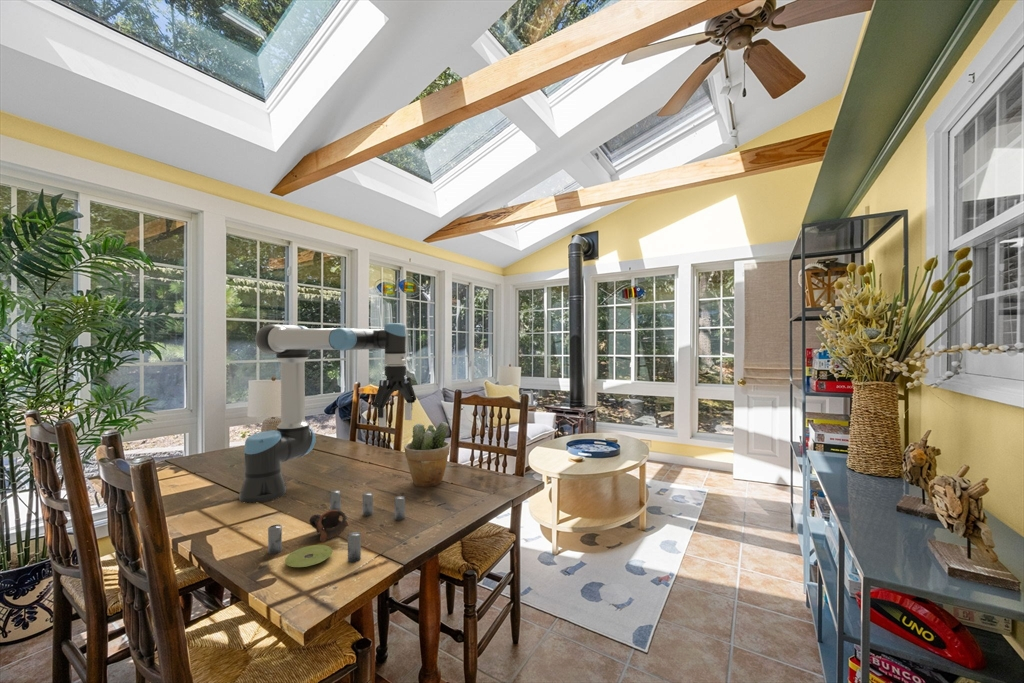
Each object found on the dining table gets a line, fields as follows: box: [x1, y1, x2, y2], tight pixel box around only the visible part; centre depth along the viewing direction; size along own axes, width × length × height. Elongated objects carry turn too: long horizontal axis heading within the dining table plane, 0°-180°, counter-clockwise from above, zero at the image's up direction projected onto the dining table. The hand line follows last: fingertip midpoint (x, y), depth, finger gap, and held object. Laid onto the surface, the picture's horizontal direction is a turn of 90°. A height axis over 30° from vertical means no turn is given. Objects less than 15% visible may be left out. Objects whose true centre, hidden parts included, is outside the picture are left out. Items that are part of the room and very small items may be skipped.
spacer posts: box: [267, 489, 406, 564], centre depth 125 cm, size 27×30×7 cm
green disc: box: [284, 544, 334, 568], centre depth 109 cm, size 11×11×2 cm
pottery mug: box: [309, 509, 349, 543], centre depth 123 cm, size 12×9×8 cm
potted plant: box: [403, 421, 451, 488], centre depth 169 cm, size 18×19×25 cm
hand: (395, 423), depth 152 cm, fingers open, 13 cm apart
